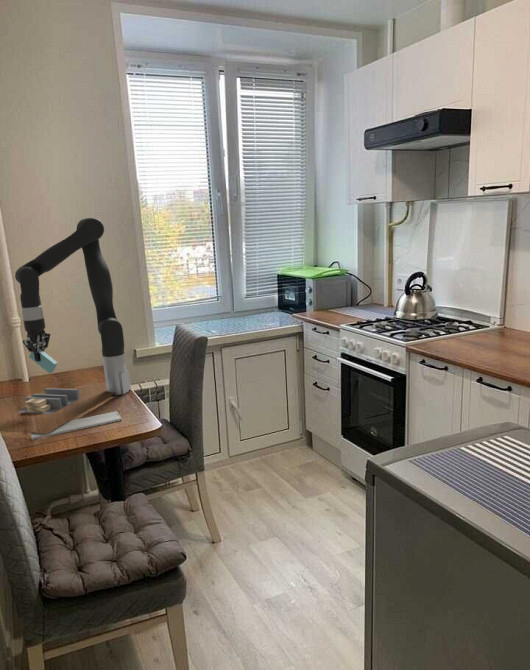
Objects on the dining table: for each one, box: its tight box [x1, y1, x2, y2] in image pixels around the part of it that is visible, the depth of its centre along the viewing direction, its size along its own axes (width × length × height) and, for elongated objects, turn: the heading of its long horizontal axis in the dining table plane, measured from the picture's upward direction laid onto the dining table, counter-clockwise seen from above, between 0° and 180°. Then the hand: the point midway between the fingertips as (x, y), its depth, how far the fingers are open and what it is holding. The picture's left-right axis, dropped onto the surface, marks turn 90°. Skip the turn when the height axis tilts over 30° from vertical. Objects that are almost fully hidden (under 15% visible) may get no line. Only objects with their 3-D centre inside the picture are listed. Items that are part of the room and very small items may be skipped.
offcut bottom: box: [26, 404, 51, 413], centre depth 201 cm, size 8×4×2 cm, turn 74°
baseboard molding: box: [30, 407, 122, 441], centre depth 188 cm, size 31×3×12 cm
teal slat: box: [28, 347, 59, 374], centre depth 202 cm, size 5×2×11 cm
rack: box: [18, 387, 81, 415], centre depth 207 cm, size 16×18×6 cm
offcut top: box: [24, 399, 47, 408], centre depth 201 cm, size 7×4×2 cm, turn 74°
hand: (40, 360), depth 202 cm, fingers closed on teal slat, 1 cm apart
